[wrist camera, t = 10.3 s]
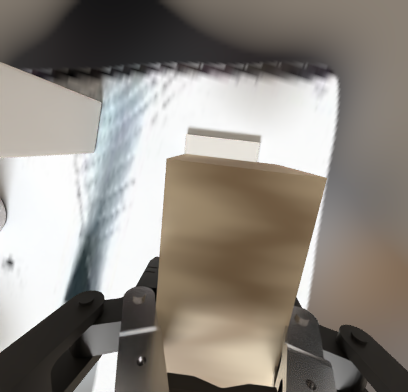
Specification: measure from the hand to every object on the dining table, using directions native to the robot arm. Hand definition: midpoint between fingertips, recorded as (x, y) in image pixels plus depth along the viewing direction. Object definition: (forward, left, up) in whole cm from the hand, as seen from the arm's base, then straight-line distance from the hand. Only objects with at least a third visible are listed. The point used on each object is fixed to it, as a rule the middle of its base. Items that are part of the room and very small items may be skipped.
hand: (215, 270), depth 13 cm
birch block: (0, -7, +2) cm, 8 cm away
